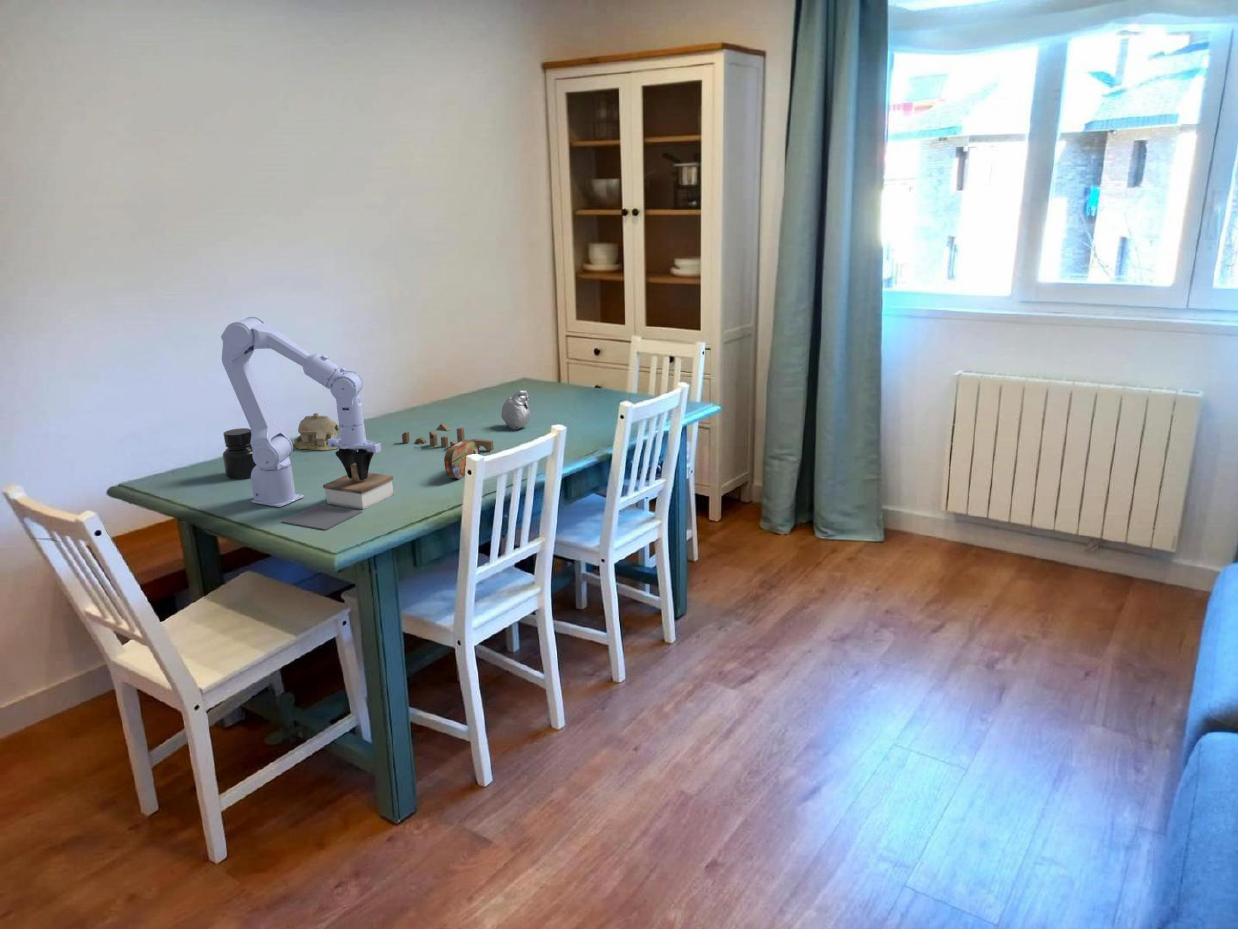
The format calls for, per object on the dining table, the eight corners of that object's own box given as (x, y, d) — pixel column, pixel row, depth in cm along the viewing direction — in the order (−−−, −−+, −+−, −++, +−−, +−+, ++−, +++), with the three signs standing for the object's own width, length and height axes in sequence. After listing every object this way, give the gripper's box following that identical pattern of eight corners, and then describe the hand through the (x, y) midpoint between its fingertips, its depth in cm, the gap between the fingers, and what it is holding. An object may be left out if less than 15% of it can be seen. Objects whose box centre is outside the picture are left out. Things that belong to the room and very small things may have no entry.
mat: (281, 522, 196) (281, 521, 196) (319, 505, 206) (319, 504, 206) (325, 530, 191) (325, 529, 191) (362, 512, 201) (362, 511, 201)
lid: (323, 490, 206) (320, 469, 205) (356, 476, 216) (354, 455, 215) (361, 496, 202) (359, 474, 200) (393, 481, 212) (391, 460, 210)
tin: (454, 483, 220) (451, 451, 218) (443, 482, 221) (440, 450, 219) (481, 465, 234) (479, 435, 231) (471, 464, 235) (469, 434, 232)
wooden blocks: (496, 451, 249) (495, 426, 246) (491, 454, 246) (489, 429, 244) (408, 441, 259) (406, 417, 257) (402, 443, 256) (400, 419, 254)
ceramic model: (349, 441, 261) (345, 408, 258) (335, 451, 250) (331, 418, 247) (304, 441, 262) (299, 409, 259) (288, 451, 251) (283, 418, 248)
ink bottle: (270, 470, 234) (264, 428, 230) (249, 481, 225) (241, 437, 222) (240, 468, 236) (233, 426, 232) (217, 478, 228) (210, 435, 224)
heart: (498, 423, 275) (496, 388, 269) (527, 419, 277) (526, 385, 272) (504, 436, 266) (502, 400, 261) (534, 433, 269) (533, 397, 263)
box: (327, 503, 207) (325, 488, 206) (358, 489, 217) (356, 474, 216) (363, 509, 203) (361, 493, 202) (393, 494, 212) (391, 479, 211)
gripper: (315, 425, 204) (323, 479, 208) (364, 430, 198) (370, 486, 202) (336, 418, 210) (343, 471, 214) (384, 423, 204) (390, 477, 208)
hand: (358, 478), depth 208 cm, fingers closed on lid, 3 cm apart
